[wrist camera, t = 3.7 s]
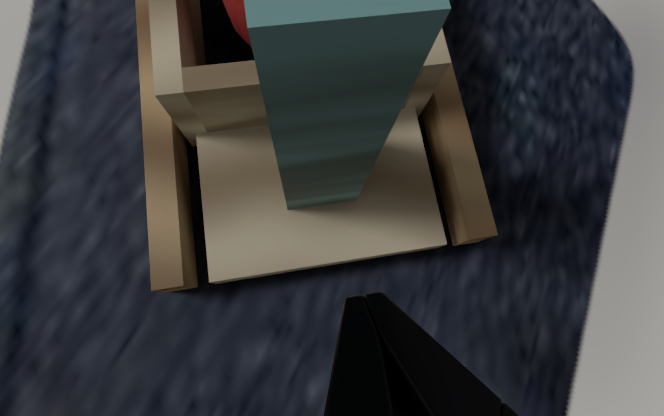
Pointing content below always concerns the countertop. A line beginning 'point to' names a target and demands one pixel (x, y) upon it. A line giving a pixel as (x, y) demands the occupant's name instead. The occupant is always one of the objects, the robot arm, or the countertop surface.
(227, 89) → the wooden open tray
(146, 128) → the guide rails
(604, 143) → the countertop surface
